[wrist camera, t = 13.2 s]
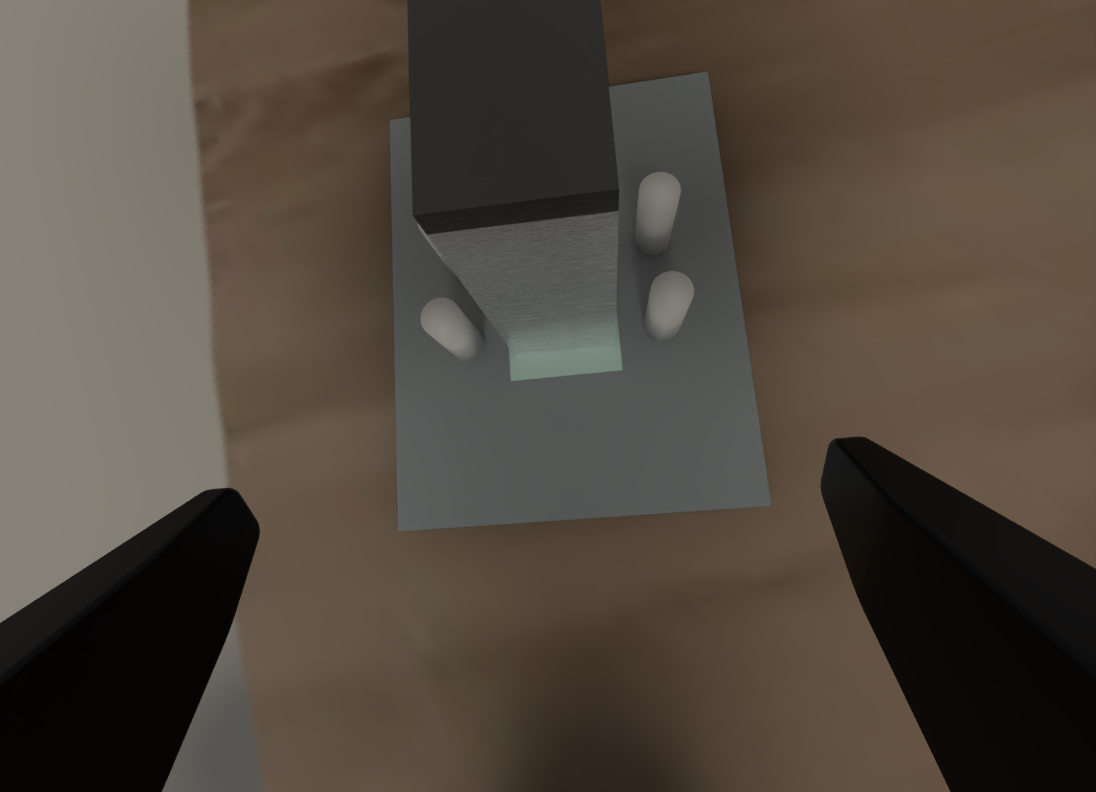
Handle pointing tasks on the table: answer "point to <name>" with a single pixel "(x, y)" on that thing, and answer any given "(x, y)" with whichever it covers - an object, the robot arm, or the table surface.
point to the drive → (518, 163)
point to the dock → (587, 354)
